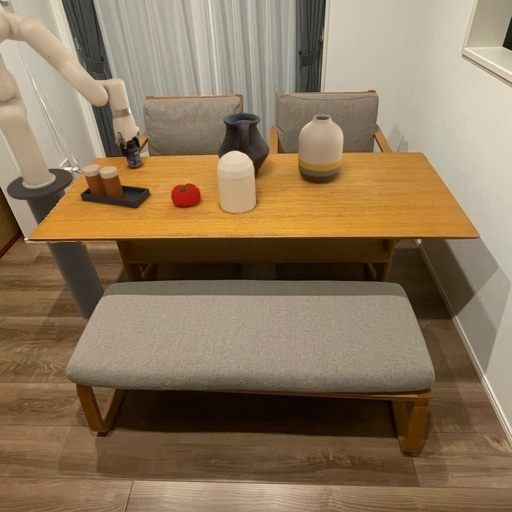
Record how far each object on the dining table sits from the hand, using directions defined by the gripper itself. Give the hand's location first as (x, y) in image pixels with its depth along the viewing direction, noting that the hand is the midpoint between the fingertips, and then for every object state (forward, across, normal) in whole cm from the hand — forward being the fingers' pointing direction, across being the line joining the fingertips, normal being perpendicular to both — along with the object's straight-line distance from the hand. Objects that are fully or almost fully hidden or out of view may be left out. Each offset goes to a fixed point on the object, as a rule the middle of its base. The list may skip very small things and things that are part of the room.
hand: (131, 152), depth 169 cm
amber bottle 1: (+6, +27, 0) cm, 28 cm away
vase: (+7, -8, +81) cm, 82 cm away
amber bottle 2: (+6, +27, +8) cm, 29 cm away
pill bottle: (+7, 0, 0) cm, 7 cm away
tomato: (+7, +24, +37) cm, 45 cm away
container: (+7, +20, +56) cm, 60 cm away
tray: (+6, +27, +8) cm, 29 cm away
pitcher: (+7, -3, +51) cm, 52 cm away
